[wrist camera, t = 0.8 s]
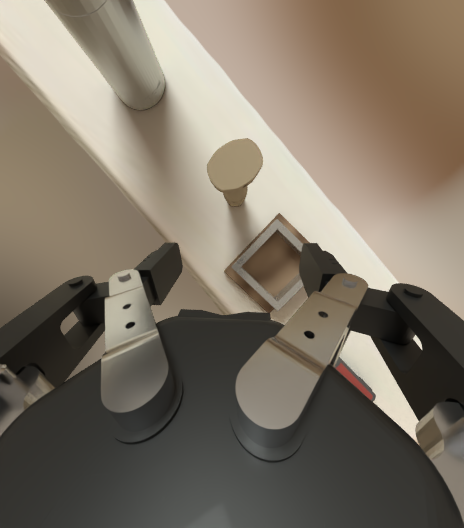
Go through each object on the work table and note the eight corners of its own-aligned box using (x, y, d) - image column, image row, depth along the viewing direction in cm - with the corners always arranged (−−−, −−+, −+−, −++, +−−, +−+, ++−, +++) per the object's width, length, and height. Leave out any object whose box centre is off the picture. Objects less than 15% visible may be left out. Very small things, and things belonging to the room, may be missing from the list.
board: (224, 270, 37) (224, 271, 36) (277, 214, 36) (279, 213, 35) (267, 310, 38) (268, 313, 36) (321, 257, 37) (325, 257, 35)
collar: (231, 265, 36) (231, 267, 33) (273, 221, 35) (277, 219, 32) (274, 306, 36) (277, 311, 33) (316, 263, 35) (324, 265, 32)
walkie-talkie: (296, 371, 39) (359, 435, 40) (304, 387, 35) (375, 458, 36) (328, 344, 39) (391, 410, 40) (340, 356, 34) (411, 430, 35)
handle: (256, 200, 36) (270, 167, 21) (227, 218, 36) (221, 198, 21) (242, 178, 36) (247, 129, 21) (214, 197, 36) (199, 161, 21)
